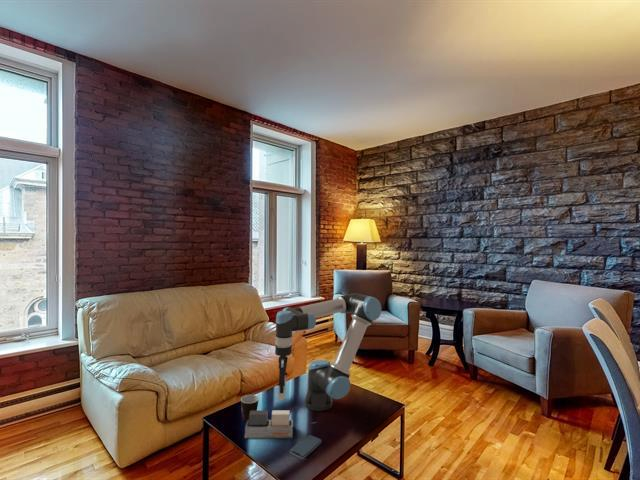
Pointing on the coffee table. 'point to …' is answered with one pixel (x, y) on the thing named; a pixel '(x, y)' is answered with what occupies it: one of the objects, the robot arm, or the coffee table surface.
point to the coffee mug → (248, 405)
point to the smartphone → (305, 446)
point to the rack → (265, 427)
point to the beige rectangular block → (280, 417)
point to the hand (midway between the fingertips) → (282, 394)
